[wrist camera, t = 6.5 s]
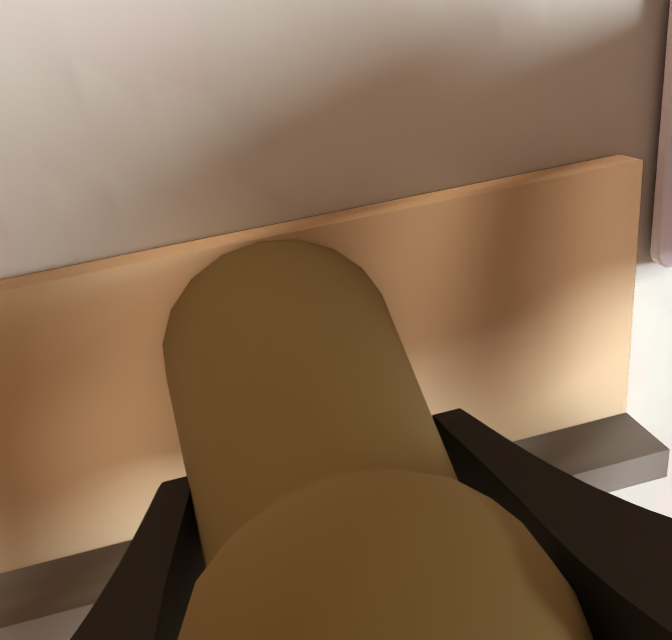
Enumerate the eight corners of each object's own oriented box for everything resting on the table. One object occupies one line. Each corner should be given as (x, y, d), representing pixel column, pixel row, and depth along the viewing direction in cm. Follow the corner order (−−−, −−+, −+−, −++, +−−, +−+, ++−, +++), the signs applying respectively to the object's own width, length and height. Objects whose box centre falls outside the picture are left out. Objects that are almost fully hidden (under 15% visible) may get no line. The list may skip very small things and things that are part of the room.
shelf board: (619, 154, 17) (699, 172, 14) (605, 423, 20) (666, 479, 18) (-148, 309, 14) (-230, 369, 12) (0, 580, 18) (-36, 670, 15)
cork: (126, 410, 15) (15, 1028, 6) (220, 197, 14) (290, 548, 4) (330, 469, 18) (503, 989, 8) (431, 292, 16) (810, 669, 6)
